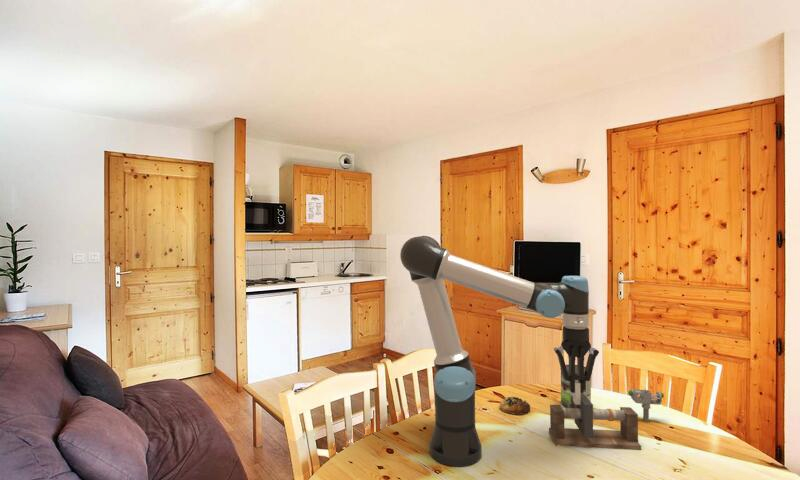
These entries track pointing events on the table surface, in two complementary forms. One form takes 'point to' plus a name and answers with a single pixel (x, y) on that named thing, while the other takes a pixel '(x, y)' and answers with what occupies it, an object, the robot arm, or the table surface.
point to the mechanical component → (646, 400)
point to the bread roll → (514, 406)
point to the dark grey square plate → (585, 417)
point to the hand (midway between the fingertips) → (576, 402)
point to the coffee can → (566, 393)
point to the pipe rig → (601, 438)
